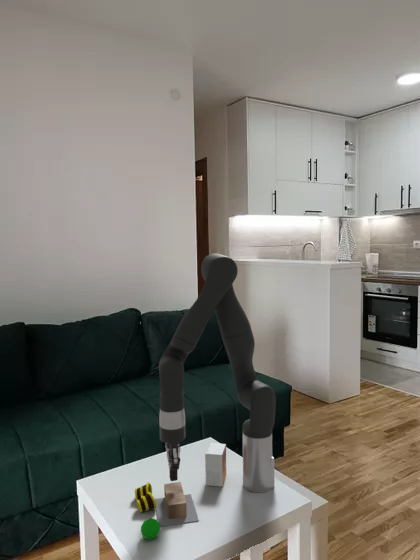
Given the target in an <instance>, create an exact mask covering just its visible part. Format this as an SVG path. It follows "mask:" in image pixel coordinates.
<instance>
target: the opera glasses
mask: <svg viewBox="0 0 420 560" xmlns="http://www.w3.org/2000/svg"><path fill="white" fill-rule="evenodd" d="M134 496H135V500H136V505H137V508H138V511H139V513H140V514H141V513H143V512H145V511H146V512H147V511H150V510H156V507H157V505H156V501H155V499H156V498H155V497H154V495H153V487H152V484H151V483H150V482H146V484H144V485H140V486H139V487H136V488H134Z"/></svg>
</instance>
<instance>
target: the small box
mask: <svg viewBox="0 0 420 560" xmlns="http://www.w3.org/2000/svg"><path fill="white" fill-rule="evenodd" d="M204 455H205V456H204V460H205V461H204V463H205V464H204V465H205V467H204V468H205V485H206V486H209V487H210V486H212V487H223V486H224V482H225V480H226V477H227V444H226V443H218V442H209V445H208V448H207V449H206V452H205V454H204Z"/></svg>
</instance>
